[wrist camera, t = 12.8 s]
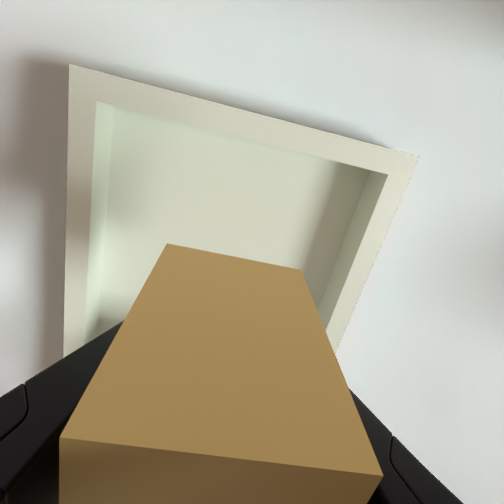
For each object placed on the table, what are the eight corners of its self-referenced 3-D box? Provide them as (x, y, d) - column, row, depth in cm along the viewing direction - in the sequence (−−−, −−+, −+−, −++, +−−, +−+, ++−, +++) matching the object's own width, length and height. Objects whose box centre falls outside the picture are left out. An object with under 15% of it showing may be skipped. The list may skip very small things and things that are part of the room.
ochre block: (267, 371, 11) (295, 620, 6) (151, 352, 11) (58, 607, 5) (300, 269, 10) (383, 475, 4) (167, 242, 9) (59, 436, 4)
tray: (282, 431, 23) (287, 466, 21) (80, 404, 21) (61, 439, 19) (393, 150, 16) (419, 156, 13) (96, 71, 14) (68, 63, 12)
